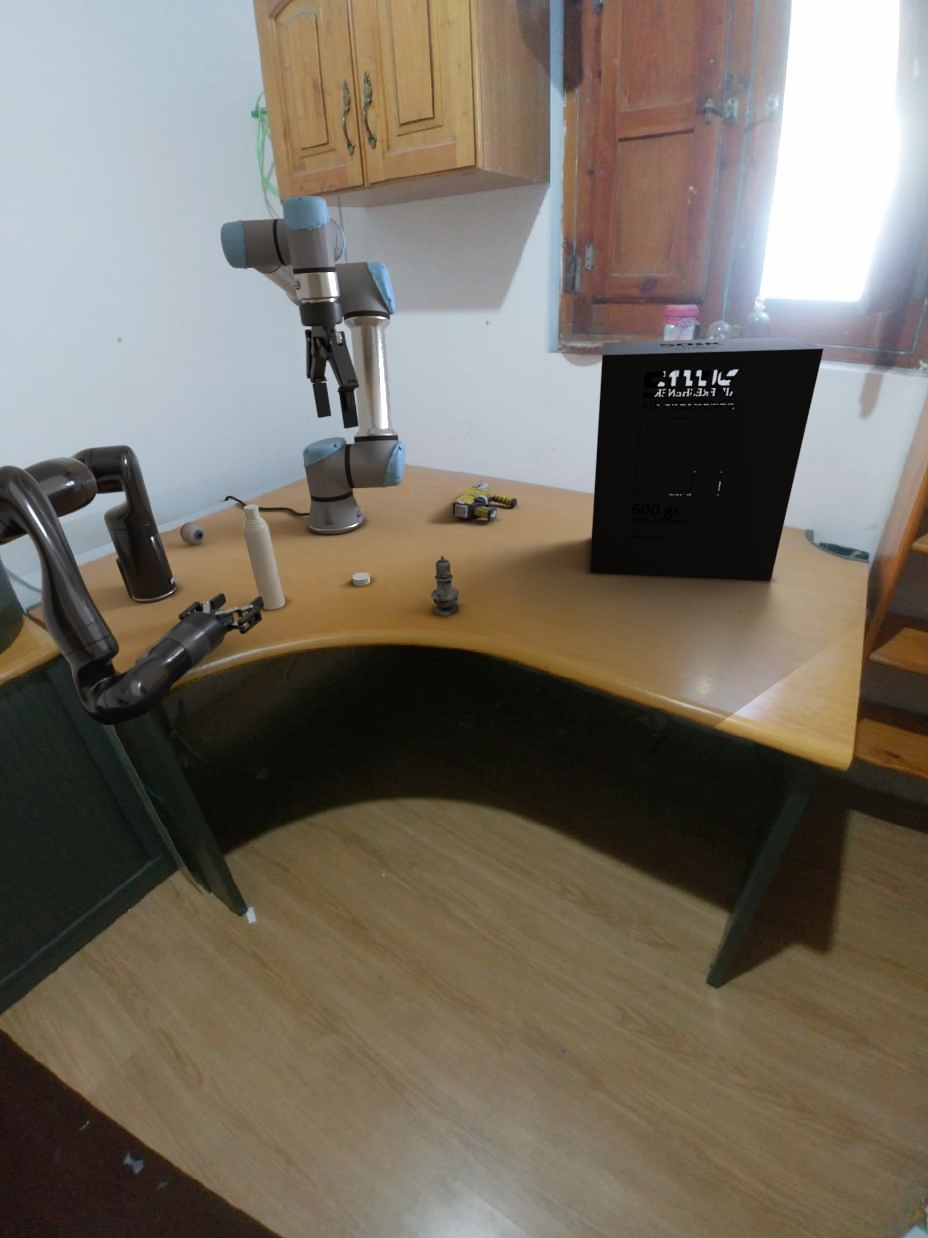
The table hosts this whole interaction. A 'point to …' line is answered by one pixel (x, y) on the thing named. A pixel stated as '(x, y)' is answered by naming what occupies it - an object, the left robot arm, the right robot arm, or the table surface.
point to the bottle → (263, 558)
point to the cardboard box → (698, 455)
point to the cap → (361, 579)
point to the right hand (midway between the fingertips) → (337, 421)
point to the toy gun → (479, 503)
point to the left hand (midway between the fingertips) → (242, 598)
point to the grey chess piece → (444, 590)
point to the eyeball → (192, 533)
